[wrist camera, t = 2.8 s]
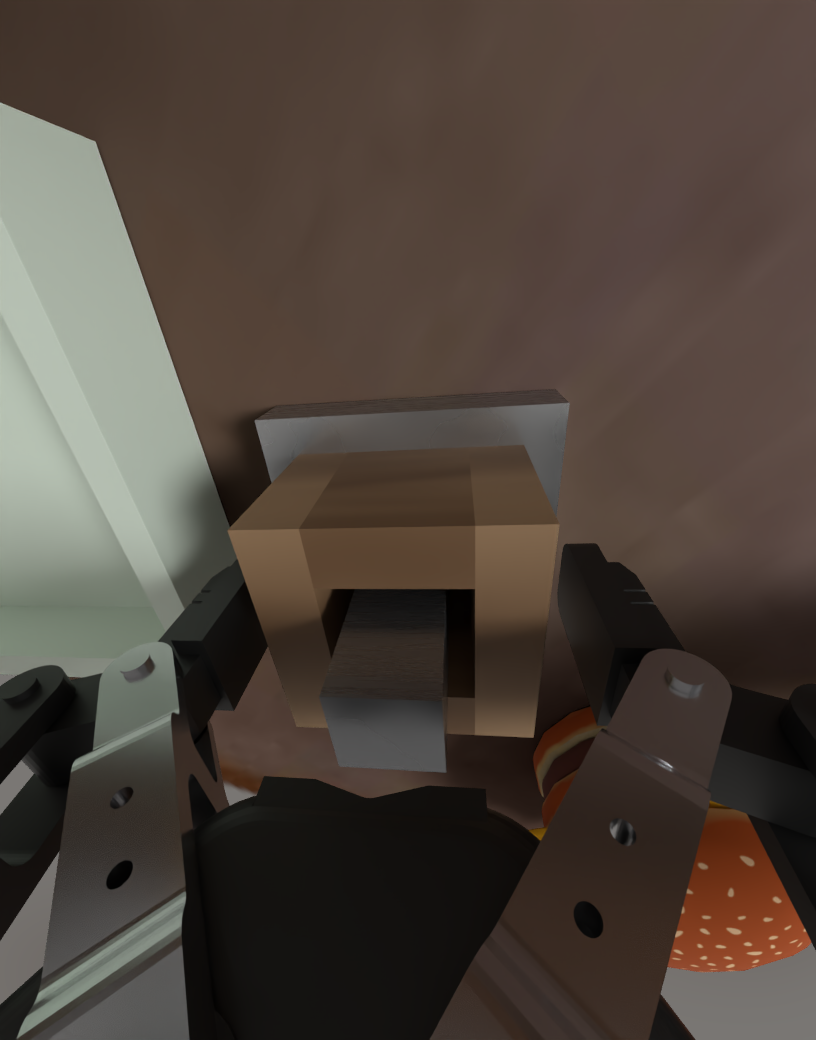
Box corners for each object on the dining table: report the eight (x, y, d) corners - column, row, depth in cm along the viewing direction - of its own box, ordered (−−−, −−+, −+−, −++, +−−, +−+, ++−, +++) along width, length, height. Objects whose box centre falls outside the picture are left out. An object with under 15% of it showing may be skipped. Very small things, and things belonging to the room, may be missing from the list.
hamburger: (613, 826, 22) (667, 1016, 16) (487, 746, 20) (499, 935, 14) (796, 764, 18) (956, 990, 12) (665, 652, 15) (787, 868, 10)
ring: (298, 454, 11) (227, 530, 8) (524, 445, 10) (559, 524, 7) (342, 646, 15) (307, 757, 11) (511, 650, 14) (529, 770, 10)
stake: (276, 405, 12) (64, 545, 5) (555, 389, 11) (704, 535, 4) (325, 610, 16) (236, 831, 9) (534, 611, 15) (596, 861, 8)
